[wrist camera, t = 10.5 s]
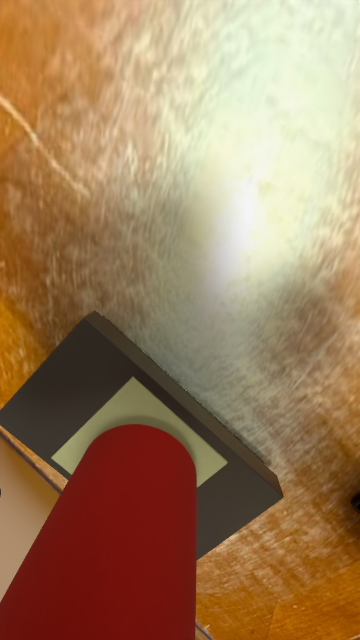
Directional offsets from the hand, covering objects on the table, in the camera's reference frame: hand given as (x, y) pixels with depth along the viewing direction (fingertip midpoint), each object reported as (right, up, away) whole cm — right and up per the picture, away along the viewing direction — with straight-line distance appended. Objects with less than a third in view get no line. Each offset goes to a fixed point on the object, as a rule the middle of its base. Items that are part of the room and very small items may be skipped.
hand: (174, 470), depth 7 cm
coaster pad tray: (-2, -4, +14) cm, 15 cm away
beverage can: (-2, -5, +11) cm, 13 cm away
